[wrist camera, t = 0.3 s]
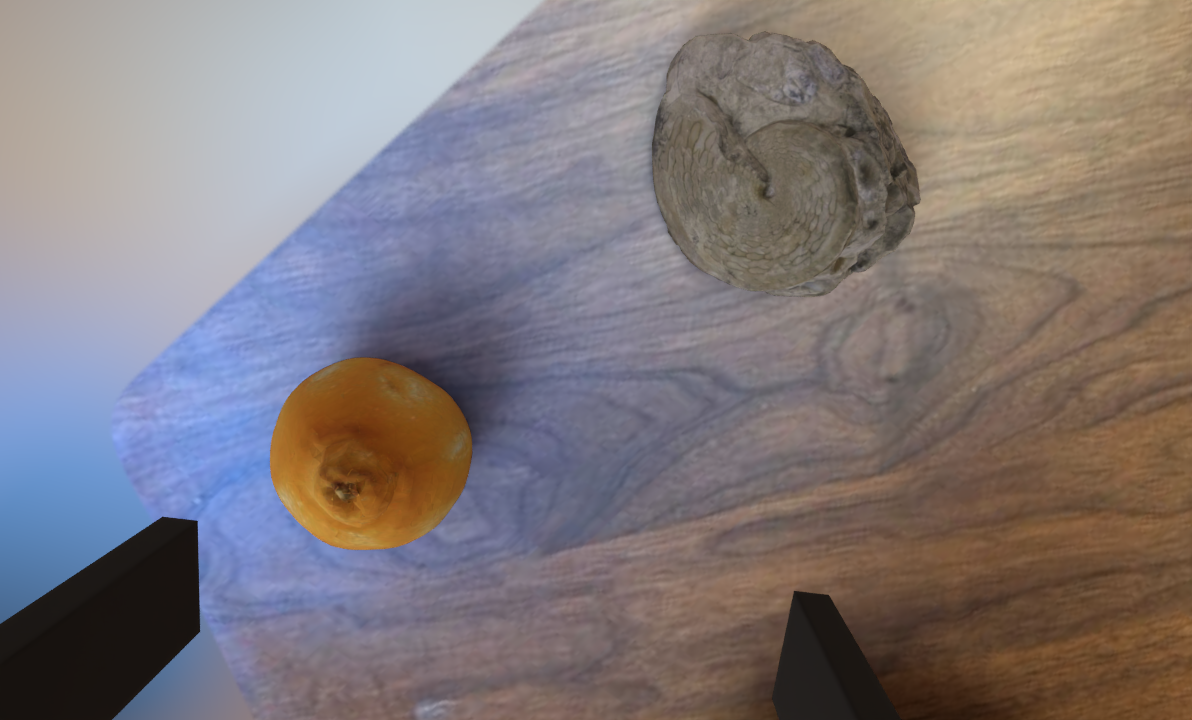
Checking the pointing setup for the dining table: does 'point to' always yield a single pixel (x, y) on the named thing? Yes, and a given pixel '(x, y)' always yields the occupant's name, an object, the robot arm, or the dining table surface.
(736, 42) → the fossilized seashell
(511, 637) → the dining table surface
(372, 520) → the fruit
